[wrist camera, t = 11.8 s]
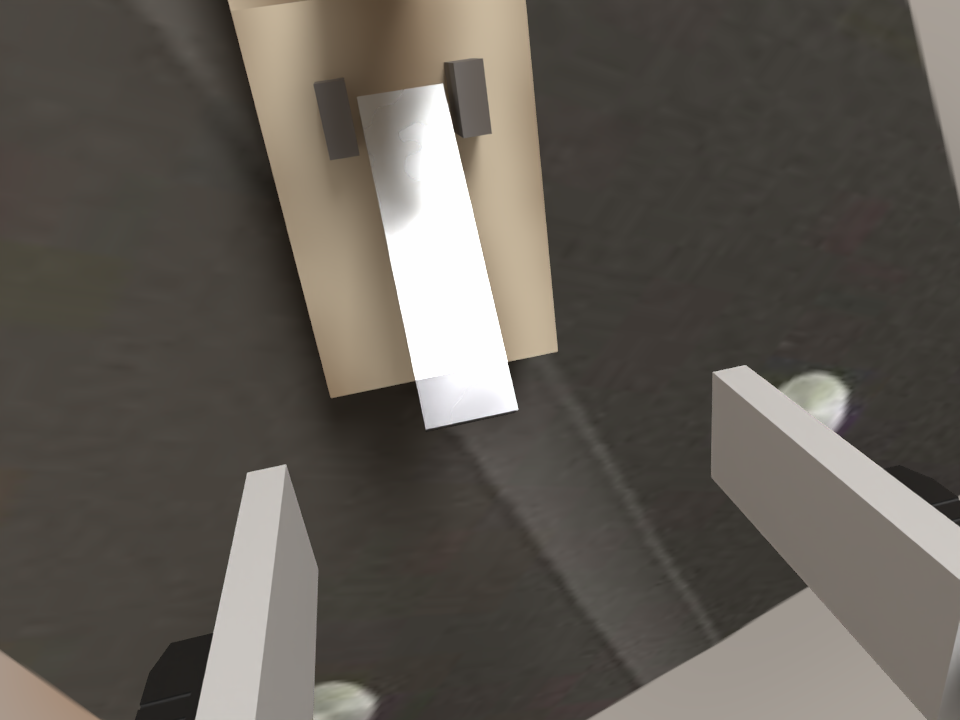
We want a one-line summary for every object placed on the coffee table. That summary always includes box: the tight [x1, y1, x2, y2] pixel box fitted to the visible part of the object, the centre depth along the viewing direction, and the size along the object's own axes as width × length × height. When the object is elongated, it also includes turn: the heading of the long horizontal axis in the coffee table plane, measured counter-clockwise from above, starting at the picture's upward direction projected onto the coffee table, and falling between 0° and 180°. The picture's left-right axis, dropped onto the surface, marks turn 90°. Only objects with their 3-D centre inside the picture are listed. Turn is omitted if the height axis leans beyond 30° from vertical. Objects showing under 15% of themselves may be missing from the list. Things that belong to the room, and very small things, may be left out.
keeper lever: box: [357, 83, 518, 432], centre depth 23 cm, size 3×12×1 cm
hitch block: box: [228, 0, 558, 398], centre depth 26 cm, size 10×22×7 cm, turn 8°
